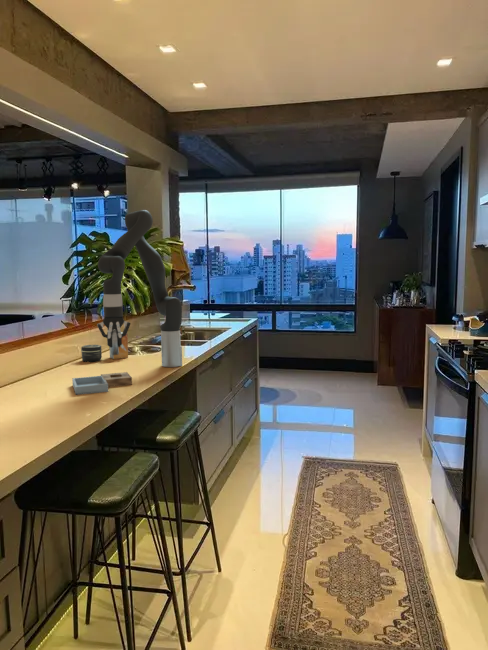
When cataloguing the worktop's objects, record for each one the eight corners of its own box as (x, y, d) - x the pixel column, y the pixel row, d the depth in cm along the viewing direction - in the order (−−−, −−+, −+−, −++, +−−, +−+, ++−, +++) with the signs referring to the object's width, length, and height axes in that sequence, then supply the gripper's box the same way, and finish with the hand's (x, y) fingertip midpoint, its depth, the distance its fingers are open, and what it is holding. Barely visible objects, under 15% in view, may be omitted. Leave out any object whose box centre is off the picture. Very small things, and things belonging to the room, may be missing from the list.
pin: (118, 353, 209) (117, 329, 208) (119, 354, 206) (118, 330, 205) (110, 353, 208) (109, 329, 207) (111, 355, 205) (110, 330, 204)
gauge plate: (127, 378, 216) (127, 372, 215) (131, 384, 205) (131, 377, 205) (101, 381, 211) (100, 374, 211) (104, 387, 201) (104, 380, 201)
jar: (106, 359, 260) (105, 344, 259) (94, 363, 251) (93, 348, 250) (89, 358, 264) (89, 343, 263) (77, 361, 254) (76, 347, 253)
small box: (113, 359, 260) (112, 334, 258) (109, 357, 265) (108, 333, 263) (128, 357, 264) (127, 333, 262) (124, 355, 269) (123, 331, 268)
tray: (103, 382, 209) (102, 375, 209) (108, 391, 195) (107, 384, 194) (72, 385, 205) (72, 378, 204) (75, 394, 190) (75, 387, 190)
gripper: (128, 303, 211) (130, 344, 213) (94, 305, 205) (96, 346, 207) (132, 305, 204) (133, 347, 206) (96, 306, 198) (98, 349, 200)
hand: (114, 346), depth 207 cm, fingers closed on pin, 3 cm apart
